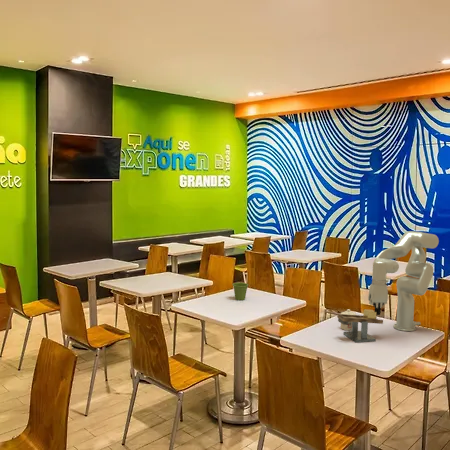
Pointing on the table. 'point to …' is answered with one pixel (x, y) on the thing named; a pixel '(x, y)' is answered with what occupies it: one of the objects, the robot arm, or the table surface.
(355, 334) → the pivot stand
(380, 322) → the balance beam
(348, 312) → the teacup with lid
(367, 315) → the block
